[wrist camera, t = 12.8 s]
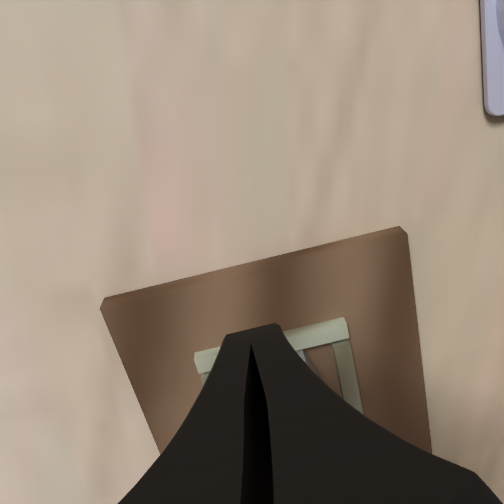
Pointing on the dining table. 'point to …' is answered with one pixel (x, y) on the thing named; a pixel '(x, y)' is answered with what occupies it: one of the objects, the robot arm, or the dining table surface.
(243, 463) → the robot arm
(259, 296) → the board
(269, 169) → the dining table surface
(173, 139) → the dining table surface
